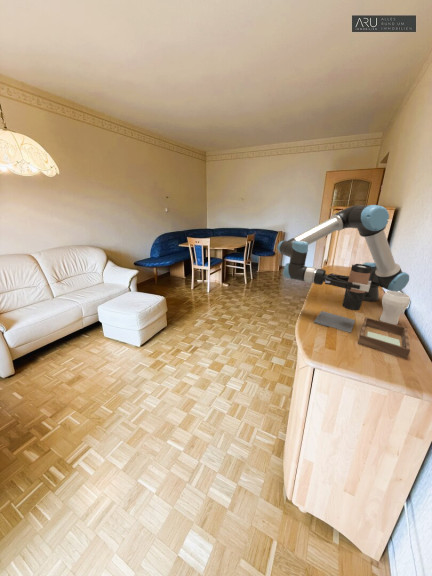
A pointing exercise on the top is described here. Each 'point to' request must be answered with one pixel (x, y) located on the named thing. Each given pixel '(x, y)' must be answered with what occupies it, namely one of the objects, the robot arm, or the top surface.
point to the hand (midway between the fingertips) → (369, 286)
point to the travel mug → (354, 296)
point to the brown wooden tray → (383, 345)
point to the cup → (393, 306)
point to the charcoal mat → (335, 321)
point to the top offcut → (383, 338)
